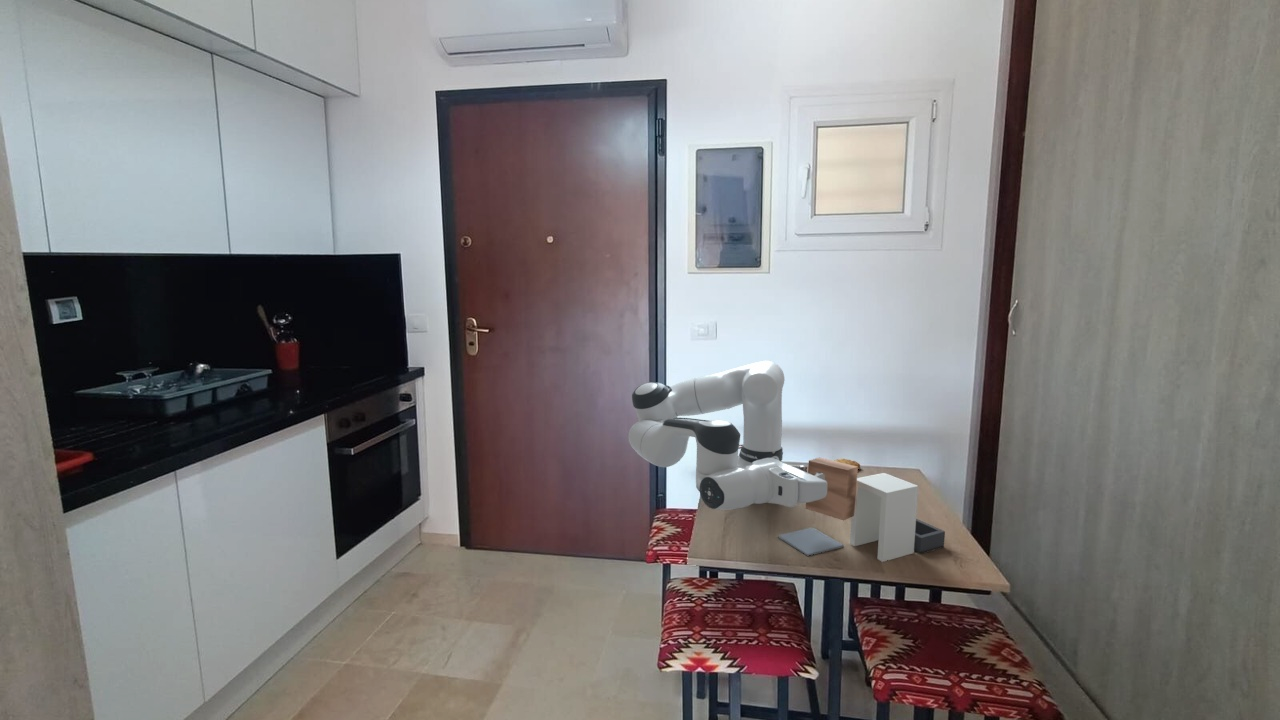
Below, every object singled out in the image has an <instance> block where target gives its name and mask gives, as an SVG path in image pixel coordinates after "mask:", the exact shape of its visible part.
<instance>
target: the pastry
mask: <svg viewBox="0 0 1280 720" xmlns="http://www.w3.org/2000/svg"><path fill="white" fill-rule="evenodd" d="M833 461H837V462H841V463H845V464H849V465H853V466H858V469H860V470H861V464H860V462H858V461H855V460H851V459H846V458H840V459H839V458H838V459H837V458H836V459H834V460H833Z"/></svg>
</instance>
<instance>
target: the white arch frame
mask: <svg viewBox="0 0 1280 720" xmlns="http://www.w3.org/2000/svg"><path fill="white" fill-rule="evenodd" d="M918 494H919V485H917V484H914V483H912V482H909V481H907V480H904V479H902V478H899V477H895V476H893V475H891V474H888V473H886V472H881V473H877V474H871V475H866V476H862V477H861V476H860V477H857V484H856V497H855V509H854V516H853V517H850V520H851V521H850V534H849V535H850V536H849V537H850V538H849V539H850V540H849V544H850V545H851V546H852V547H858V546H862V545H865V544H868V543H872V542H876V541H877V542H878V544H877V545H878V546H877V560H878V561H880V562H882V563H884V562H887V560H888V561H891V560H894V559H897V558H901V557H905V556H908V555H911V554H914V553H915V551H914V542H915V527H916V519H917V513H918V512H917V511H918V510H917V509H918V500H919V499H918V497H919V495H918ZM883 561H884V562H883Z"/></svg>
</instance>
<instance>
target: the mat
mask: <svg viewBox="0 0 1280 720" xmlns="http://www.w3.org/2000/svg"><path fill="white" fill-rule="evenodd" d="M777 538H778V539H780V540H781V541H783V542H785V543H786V544H788V545H789V546H791V547H792V548H794V549H796V550H797V551H799V552H800V553H802V554H803V553H804V555H806V557H810V556H809V555H811V556H814V555H817V554H822V553H825V551H826V552H829V551H832V550H836V549H841V548H844V547H845V546H844V545H845V544H843V543H841V542H840V541H837V540H836V539H834V538H832V537H831V536H829V535H828V534H825V533H823V532H822V531H820V530H819V529H817V528H814V527H811V526H810V527H808V528H803V529H798V530H795V531H791V532H787V533H781V534H779V535H777ZM821 552H822V553H821ZM813 554H814V555H813Z"/></svg>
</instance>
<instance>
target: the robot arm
mask: <svg viewBox="0 0 1280 720" xmlns="http://www.w3.org/2000/svg"><path fill="white" fill-rule="evenodd" d="M784 385H785V374H784V371H783V369H782V368H781V367H780V366H779V365H778V364H777V363H775V362H773V361H771V360H770V361H769V360H762V361H758V362H754V363H750V364H746V365H743V366H739V367H736V368H732V369H728V370H724V371H721V372H717V373H713V374H709V375H704V376H700V377H694V378H691V379H687V380H684V381H681V382H678V383H676V384H674V385H671V386H669V385H667V384H664V383H661V382H658V381H657V382H656V381H649V382H646V383H643V384H640V385H639V386H638V387H636V388H635V389H634V391H633V392H632V394H631V400H632V401H631V402H632V405H633V406H632V407H634V410H635V414H636V417H637V420H638V421H636V422H634V423H633V424H632V426H631V427H630V428H629V431H628V434H627V435H628V437H627V439H628V443H629V445H630V447H631V448H632V449H633V450H634V451H635V453H637V455H638V456H640V457H641V458H642V459H644V460H645V461H647V462H648V463H650V464H652V465H654V466H657V467H660V468H669V467H672V466H674V465H676V464H678V462H680V461H681V460H682V459H683V457H684V455H685V454H686V451H687V449H688V444H689V443H688V442H689V440H690V438H691V437H692V438H695V443H696V466H695V488H696V489H697V491H698V493H700V498H701V500H702V502H703V503H704V505H705V506H707V507H708V508H709V509H711V510H715V511H724V510H725V511H726V510H736V509H742V508H747V507H749V506H750V505H752V504H760V505H761V504H764V503H768V504H774V505H775V504H776V505H781V506H783V507H784V506H785V507H787V508H795V507H797V506H798V504H806V503H808V502H812V501H816V500H820V499H823V498H825V497H826V495H827V481H825V474H823V473H820V472H818V473H815V476H814V475H811V474H809V473H808V466H807V465H804V464H799V465H795V464H789V463H786V462H783V455H784V451H783V450H784V449H783V447H782V434H783V433H782V432H783V431H782V430H783V412H782V410H783V407H782V404H783V403H782V397H783V387H784ZM741 405H742V411H743V443H742V444H740V441H741V432H740V431H739V430H738V429H737V427H736V426H735V425H734V424H733V423H732V422H730V421H726V420H720V419H719V420H718V419H717V420H707V419H699V418H690V416H698V415H705V414H709V413H715V412H719V411H725V410H729V409H733V408H735V407H738V406H741ZM739 450H740V451H739Z"/></svg>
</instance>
